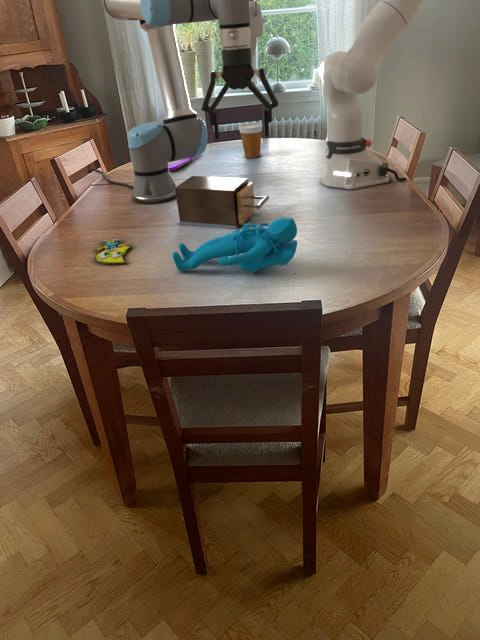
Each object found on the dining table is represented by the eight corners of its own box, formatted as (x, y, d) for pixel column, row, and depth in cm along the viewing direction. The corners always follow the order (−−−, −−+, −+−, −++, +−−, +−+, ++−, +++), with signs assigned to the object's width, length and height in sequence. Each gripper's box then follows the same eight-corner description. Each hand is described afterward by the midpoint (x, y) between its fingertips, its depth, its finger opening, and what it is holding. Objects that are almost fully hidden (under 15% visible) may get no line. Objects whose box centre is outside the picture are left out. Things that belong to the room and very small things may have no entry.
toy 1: (135, 237, 135) (125, 260, 122) (135, 240, 135) (125, 263, 123) (99, 239, 135) (85, 263, 122) (100, 242, 135) (86, 266, 123)
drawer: (271, 213, 142) (269, 183, 137) (259, 226, 134) (257, 194, 130) (204, 208, 150) (201, 180, 145) (190, 220, 142) (185, 191, 137)
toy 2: (183, 229, 122) (297, 202, 112) (198, 266, 128) (308, 242, 117) (161, 259, 109) (288, 230, 99) (178, 298, 114) (301, 275, 104)
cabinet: (250, 214, 146) (247, 178, 140) (236, 228, 137) (233, 190, 131) (196, 210, 152) (192, 175, 146) (180, 223, 143) (174, 187, 137)
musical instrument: (146, 176, 192) (194, 165, 189) (145, 171, 191) (193, 160, 188) (157, 164, 213) (201, 154, 210) (156, 159, 212) (200, 149, 209)
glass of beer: (264, 157, 198) (262, 127, 191) (241, 159, 198) (238, 129, 192) (263, 152, 206) (261, 122, 199) (241, 153, 206) (239, 124, 200)
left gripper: (184, 52, 118) (194, 142, 130) (285, 45, 115) (287, 137, 126) (190, 50, 124) (199, 135, 136) (286, 42, 121) (288, 131, 132)
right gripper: (267, -6, 120) (269, 56, 128) (242, -3, 137) (245, 53, 144) (243, -4, 119) (247, 59, 126) (221, -1, 135) (225, 55, 143)
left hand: (242, 136), depth 131 cm, fingers open, 13 cm apart
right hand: (246, 55), depth 135 cm, fingers open, 8 cm apart
